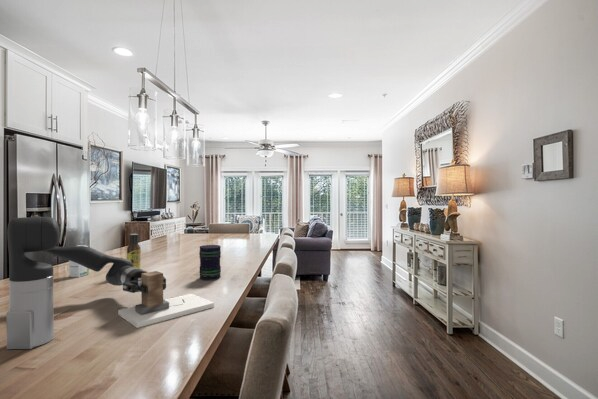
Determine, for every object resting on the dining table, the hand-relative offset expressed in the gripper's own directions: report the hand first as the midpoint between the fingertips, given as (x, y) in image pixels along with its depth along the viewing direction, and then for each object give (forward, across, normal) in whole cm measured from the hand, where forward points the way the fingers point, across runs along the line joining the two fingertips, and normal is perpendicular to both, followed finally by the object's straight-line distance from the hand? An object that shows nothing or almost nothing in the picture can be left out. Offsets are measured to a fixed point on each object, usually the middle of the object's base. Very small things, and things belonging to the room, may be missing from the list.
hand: (155, 288), depth 109 cm
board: (-2, +5, +9) cm, 11 cm away
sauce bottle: (-67, +17, +10) cm, 70 cm away
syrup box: (-82, -2, +10) cm, 83 cm away
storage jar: (-33, +40, +10) cm, 52 cm away
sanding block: (-3, 0, +8) cm, 8 cm away
